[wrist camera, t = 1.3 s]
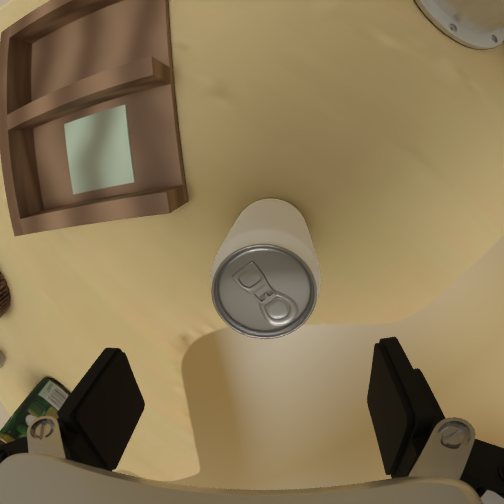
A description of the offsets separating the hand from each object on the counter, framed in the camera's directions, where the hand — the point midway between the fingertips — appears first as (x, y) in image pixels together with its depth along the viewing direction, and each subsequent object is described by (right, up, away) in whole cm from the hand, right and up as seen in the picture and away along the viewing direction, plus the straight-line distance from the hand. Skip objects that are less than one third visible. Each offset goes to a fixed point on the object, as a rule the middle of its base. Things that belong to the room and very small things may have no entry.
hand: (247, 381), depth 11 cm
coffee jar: (-31, -19, +29) cm, 47 cm away
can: (+2, +6, +17) cm, 19 cm away
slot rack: (-16, +19, +14) cm, 29 cm away
